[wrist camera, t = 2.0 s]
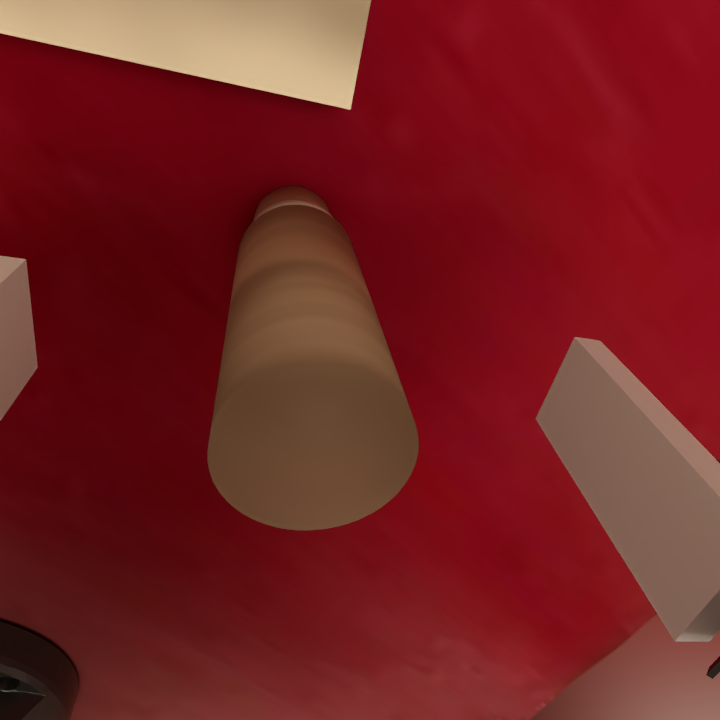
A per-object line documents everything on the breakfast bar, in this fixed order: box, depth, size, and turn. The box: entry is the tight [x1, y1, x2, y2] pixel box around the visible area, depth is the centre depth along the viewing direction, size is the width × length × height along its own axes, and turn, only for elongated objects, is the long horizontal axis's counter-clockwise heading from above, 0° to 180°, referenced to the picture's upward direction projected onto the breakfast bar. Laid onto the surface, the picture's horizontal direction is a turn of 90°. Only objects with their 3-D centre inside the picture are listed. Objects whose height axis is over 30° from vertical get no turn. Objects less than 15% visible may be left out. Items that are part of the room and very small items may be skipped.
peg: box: [208, 186, 419, 530], centre depth 16 cm, size 4×4×14 cm
